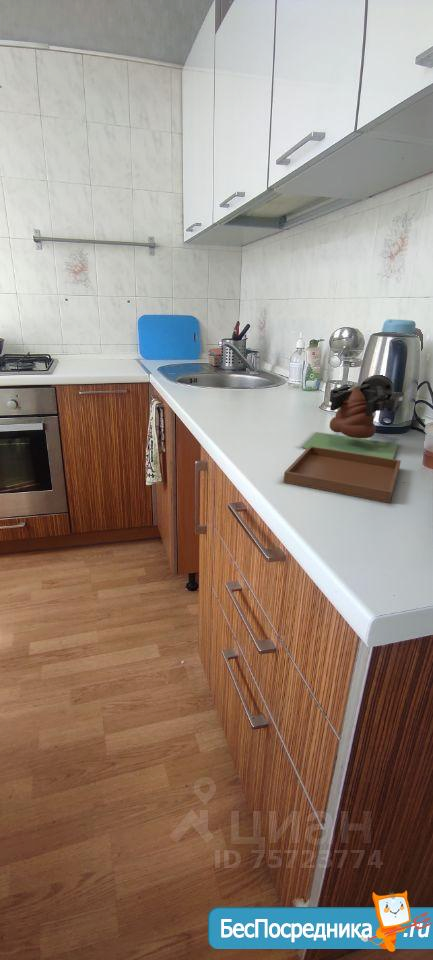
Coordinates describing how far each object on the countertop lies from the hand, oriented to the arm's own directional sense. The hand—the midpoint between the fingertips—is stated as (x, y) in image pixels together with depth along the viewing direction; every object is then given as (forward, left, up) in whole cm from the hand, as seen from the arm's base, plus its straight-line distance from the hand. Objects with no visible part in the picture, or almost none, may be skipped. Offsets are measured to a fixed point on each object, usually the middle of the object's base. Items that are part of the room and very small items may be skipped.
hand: (350, 406), depth 92 cm
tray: (-3, +14, -10) cm, 17 cm away
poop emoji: (0, -5, -7) cm, 8 cm away
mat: (-1, -5, -10) cm, 11 cm away
